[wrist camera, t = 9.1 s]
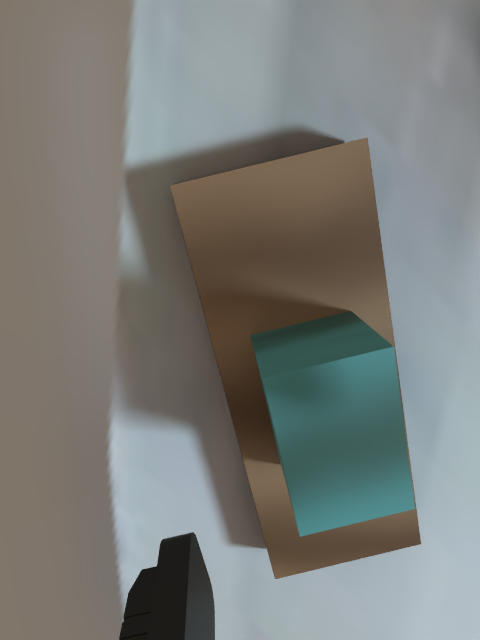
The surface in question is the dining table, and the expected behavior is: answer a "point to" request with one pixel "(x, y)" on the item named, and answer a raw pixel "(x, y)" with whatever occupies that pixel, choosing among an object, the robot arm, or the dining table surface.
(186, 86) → the dining table surface
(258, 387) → the wooden base with cube
